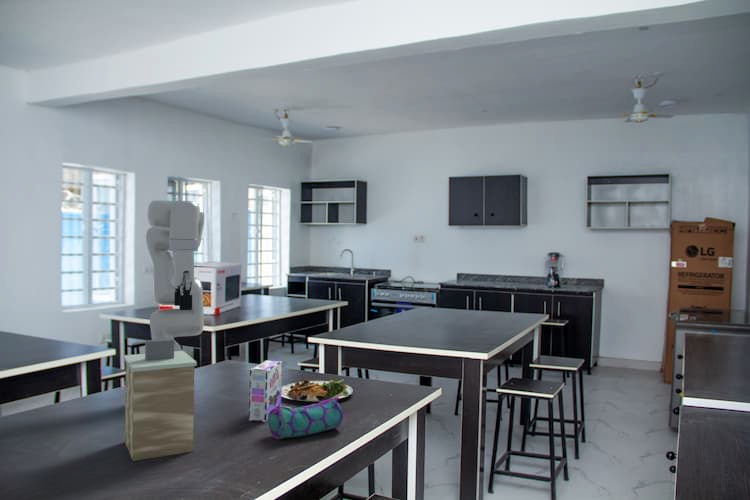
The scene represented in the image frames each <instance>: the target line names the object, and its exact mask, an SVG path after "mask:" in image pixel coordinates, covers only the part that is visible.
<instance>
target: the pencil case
mask: <svg viewBox="0 0 750 500" xmlns="http://www.w3.org/2000/svg"><path fill="white" fill-rule="evenodd" d="M338 401H340V399H339V398H338V397H335V398H334V399H333V398H331V399H328V400H325V401H321V402H317V403H316V402H315V403H312V404H310V405H304V406H303V405H302V406H299V407H290V406H285V405H283V404H281V405H280V406H276V407H275V408H274V409H272V410H271V411H270V413H269V415H268V421H267V422H268V428H269V432H270V434H271V436H272V437H273V438H274V439H276V440H283V439H291V438H298V437H299V438H300V437H305V436H310V435H313V434H319V433H322V432H326V431H330V430H333V429H338V428H339V427H341V425H342V423H343V419H344V418H343V417H344V413H343V409H342V407H341V405H340V403H339V402H338Z"/></svg>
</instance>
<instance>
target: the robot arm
mask: <svg viewBox="0 0 750 500" xmlns="http://www.w3.org/2000/svg"><path fill="white" fill-rule="evenodd" d="M147 221H148V223H149V225H150V226H151V227H148V229H147V231H146V234H145V235H146V236H145V238H146V239H145V240H146V246H147V250H148V252H149V256H150V258H151V261H152V264H153V291H154V293H153V294H154V300H155V302H156V303H157V304H158V305H162V306H176V307H178V306H179V308H162V309H158V310H155V311H154V312H152V313H151V315H150V318H149V327H150V336H151V340H160V339H173V340H174V351H183V350H182V347H181V345H180V344H179V342H177V341H176V340H175V338H178V337H193V336H194V337H195V336H199V335H201V334H202V332H203V331H204V328H205V327H204V326H205V325H204V324H205V322H204V321H205V320H204V319H205V318H204V315H205V314H204V312H205V310H204V288H203V283H202V282H201V280H200V279H199V278H197V277H195V252H199V248H200V245H201V242H202V237H203V230H204V225H205V211H204V208H203V207H202V205H201V204H199V203H197V202H195V201H192V200H191V201H190V200H156V199H155V200H151V202H149V204H148V208H147Z"/></svg>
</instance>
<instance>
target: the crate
mask: <svg viewBox="0 0 750 500" xmlns="http://www.w3.org/2000/svg"><path fill="white" fill-rule="evenodd" d="M124 397H125V403H124V404H125V406H124V407H125V413H124V416H125V418H124V444H125V445H126V447H127V450H128V452H129V454H130V457H131V460H132V462H134V461H141V460H147V459H153V458H154V459H155V458H160V457H165V456H171V455H178V454H183V453H190V452H194V421H195V419H194V417H195V415H194V413H195V366H189V367H179V368H168V369H157V370H146V371H136V372H132V371H131V369H130V368H129V366H128V365H127V363H126V362H125V396H124Z"/></svg>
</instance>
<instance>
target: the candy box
mask: <svg viewBox="0 0 750 500" xmlns="http://www.w3.org/2000/svg"><path fill="white" fill-rule="evenodd" d="M282 368H283V362H282V361H281V360H280V361H279V360H267V359H266V360H264V361H263V362H261V363H260V364H258V365H256V366H254V367H252V368H250V370H249V394H248V395H249V397H248V421H251V422H260V423H267V422H268V415H269V413H270V411H271V410H272V409H274V408H275V407H276V406H280V405H282V397H281V387H282V386H283V385H282V384H283V383H282V379H283V377H282V376H283V375H282V374H283V372H282V371H283V369H282Z"/></svg>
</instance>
